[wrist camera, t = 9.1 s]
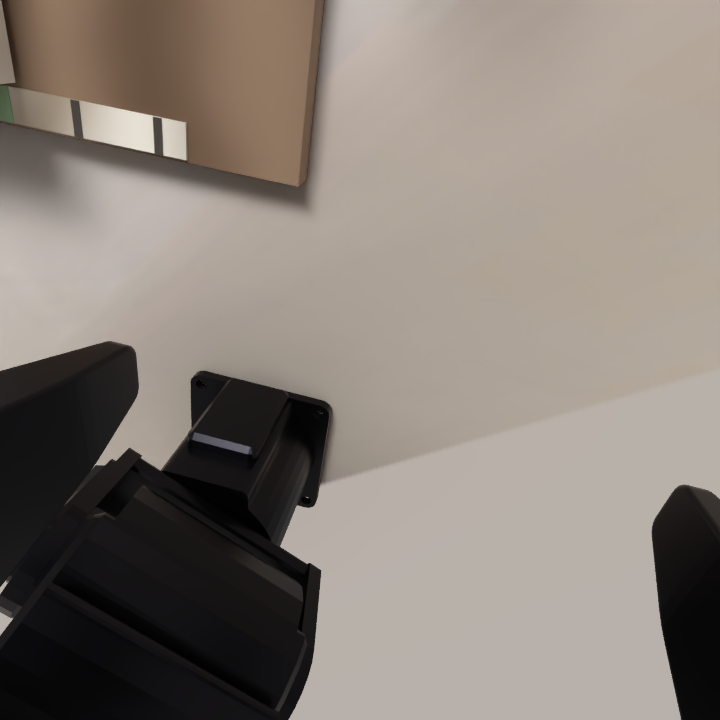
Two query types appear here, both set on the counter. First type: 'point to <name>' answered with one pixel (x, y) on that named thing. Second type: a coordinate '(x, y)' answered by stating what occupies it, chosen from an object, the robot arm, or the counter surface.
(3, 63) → the gauge carriage
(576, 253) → the counter surface
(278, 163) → the base
